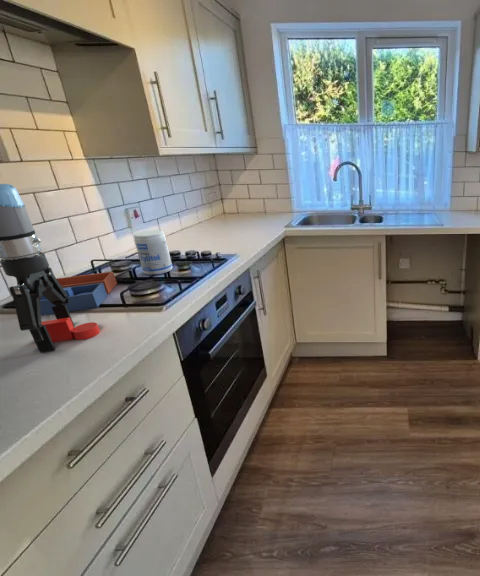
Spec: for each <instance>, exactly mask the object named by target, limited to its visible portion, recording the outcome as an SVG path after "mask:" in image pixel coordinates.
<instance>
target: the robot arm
mask: <svg viewBox="0 0 480 576" xmlns="http://www.w3.org/2000/svg"><path fill="white" fill-rule="evenodd" d="M32 223H33V222H32V221H31V219H30V216H29V213H28V211H27V208H26V204H25V203H24V201H23V199H22V197H21V196H20V194H19V192H18V189H17V187H15V186H14V185H12V184H9V183H0V267H1V268H2V270H3V271H4V274H5V275H6V276H8V277H13V278H15V279H16V285H14V286H13V285H11V286H9V288H8V290H9V292H10V294H11V296H12V300H13V304H14V309H15V312H16V317H17V321H18V326H19V329H20V331H29V332H30V335H31V337H32V339H33V341H34V343H35V345H36V348H37V349H38V351H39V353H41V354H42V353H45V352H46V353H47V352H52V351H55V350H56V347H55V345H54V342H52V340H51V337H50V335H49V333H48V331H47V329H46V326H45V325H42V316H41V308H40V299H41V298H42V295H43V296H44V297H45V298H46V299H47V300H48V301H50V302H51V303H52V304H53V305H56V306H53V307H52V309H53V312H54V314H53V315H54V316H55V318H56V319H62V318H69V317H70V319H71V321H72V324H73V326H74V327H76V326H75V323H74V321H73V319H72V316H71V314H70V312H69V311H68V309H67V306H66V303H69V302H70V301H69V299H67V298H68V295H67V294H66V292H65V291H64V289H63V288H62V286H61V285H60V283H59V282H58V280H57V277H56V275H55V274H54V271H53V269H52V268H51V266H50V264H49V262H48V259H47V257H46V255H45V253H44V252H42V250H43V248H42V246H41V242H42V240H41V239H40V238H39V237H38V235H37V233H36V231H35V229H34V226H33V224H32ZM60 294H61V295H60ZM56 319H55V320H56Z"/></svg>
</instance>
